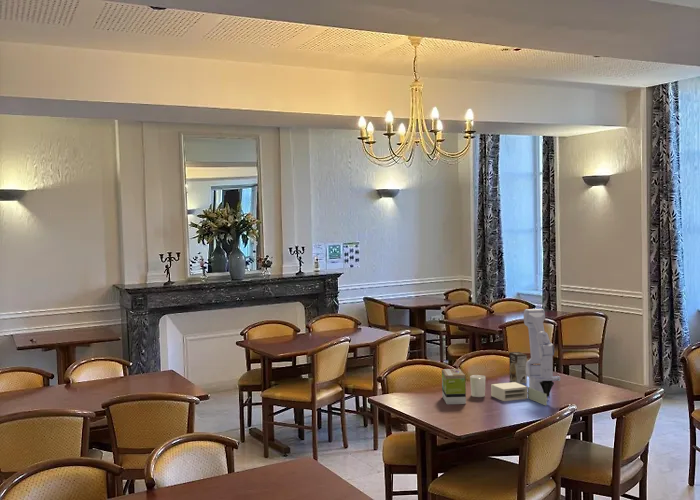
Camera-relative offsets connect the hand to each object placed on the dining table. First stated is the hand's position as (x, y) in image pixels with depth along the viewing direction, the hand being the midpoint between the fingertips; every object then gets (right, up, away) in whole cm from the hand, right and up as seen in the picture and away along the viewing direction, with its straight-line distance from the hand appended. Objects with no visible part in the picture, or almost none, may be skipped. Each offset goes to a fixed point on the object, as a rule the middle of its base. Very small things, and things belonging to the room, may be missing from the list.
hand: (546, 396), depth 335 cm
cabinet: (-15, -3, +12) cm, 20 cm away
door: (-4, -3, +2) cm, 5 cm away
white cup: (-31, -4, +17) cm, 35 cm away
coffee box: (-3, -2, +46) cm, 46 cm away
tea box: (-44, -4, +8) cm, 45 cm away
